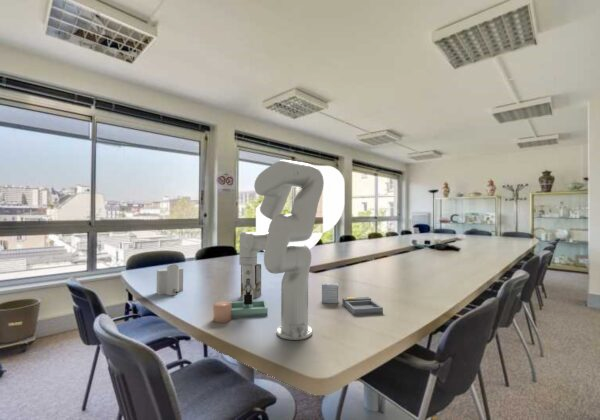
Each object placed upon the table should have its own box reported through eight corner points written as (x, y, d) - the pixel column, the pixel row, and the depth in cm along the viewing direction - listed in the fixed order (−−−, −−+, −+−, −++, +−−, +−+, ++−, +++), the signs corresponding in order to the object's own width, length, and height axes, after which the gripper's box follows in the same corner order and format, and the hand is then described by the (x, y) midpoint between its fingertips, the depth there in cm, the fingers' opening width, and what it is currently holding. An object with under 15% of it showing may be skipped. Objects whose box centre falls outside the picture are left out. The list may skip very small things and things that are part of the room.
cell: (253, 311, 122) (253, 290, 122) (242, 311, 121) (242, 291, 122) (252, 307, 127) (253, 288, 127) (242, 308, 126) (242, 288, 126)
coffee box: (261, 294, 151) (262, 263, 151) (256, 298, 145) (256, 266, 145) (246, 293, 153) (246, 263, 154) (240, 296, 147) (240, 265, 147)
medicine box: (338, 301, 141) (338, 283, 141) (338, 303, 137) (338, 285, 137) (321, 300, 142) (321, 282, 142) (321, 303, 137) (321, 284, 138)
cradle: (382, 313, 123) (382, 305, 123) (353, 315, 121) (353, 307, 121) (368, 303, 138) (368, 296, 138) (342, 304, 135) (342, 297, 135)
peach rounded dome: (231, 322, 112) (231, 306, 113) (212, 323, 111) (212, 307, 111) (231, 315, 119) (231, 301, 119) (214, 316, 118) (214, 302, 118)
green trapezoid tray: (267, 315, 120) (267, 308, 120) (227, 317, 117) (227, 310, 117) (265, 307, 131) (265, 300, 131) (229, 308, 128) (229, 302, 128)
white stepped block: (180, 289, 161) (180, 262, 161) (188, 294, 150) (189, 265, 150) (156, 292, 153) (156, 264, 153) (163, 299, 142) (164, 268, 142)
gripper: (257, 263, 117) (257, 306, 116) (256, 257, 134) (255, 294, 133) (238, 264, 115) (238, 307, 115) (239, 257, 132) (239, 295, 132)
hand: (247, 300), depth 124 cm, fingers open, 9 cm apart
